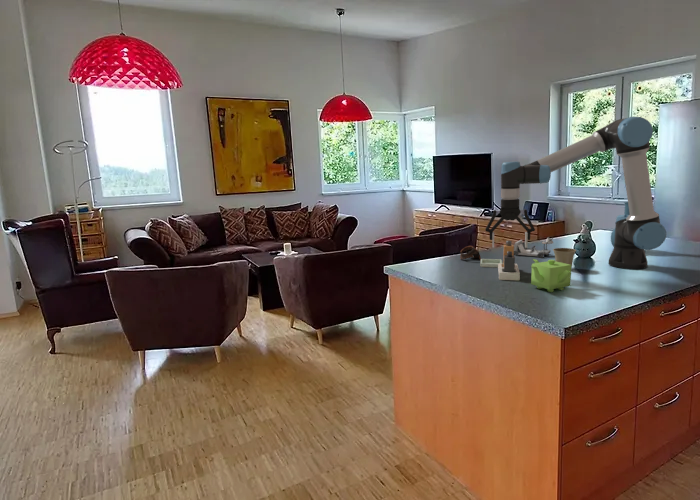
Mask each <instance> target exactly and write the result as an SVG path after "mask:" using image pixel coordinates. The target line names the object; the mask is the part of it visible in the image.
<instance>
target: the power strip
mask: <svg viewBox="0 0 700 500" xmlns="http://www.w3.org/2000/svg"><path fill="white" fill-rule="evenodd" d="M497 269H498V270H497V271H498V280H499V281H503V280H504V281H520V279H521V277H520V276H521V275H520V274H521V273H520V269H519V265H518V263H516V256H514V255H512V252H511V251H507V255H504V267H503V262H502V263H498V267H497Z"/></svg>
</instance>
